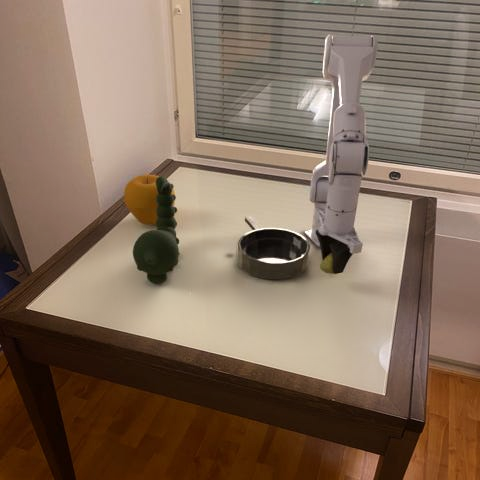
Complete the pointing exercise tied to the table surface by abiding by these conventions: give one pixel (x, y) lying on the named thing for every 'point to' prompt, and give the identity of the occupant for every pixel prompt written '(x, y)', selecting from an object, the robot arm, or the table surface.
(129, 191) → the apple
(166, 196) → the toy figurine
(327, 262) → the lime
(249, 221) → the skillet handle
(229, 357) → the table surface
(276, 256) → the skillet
